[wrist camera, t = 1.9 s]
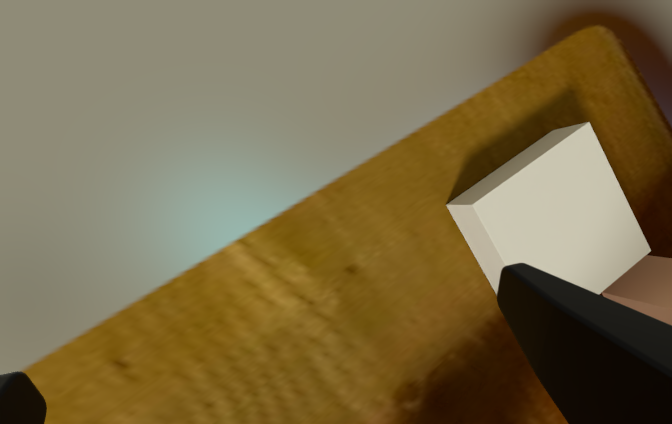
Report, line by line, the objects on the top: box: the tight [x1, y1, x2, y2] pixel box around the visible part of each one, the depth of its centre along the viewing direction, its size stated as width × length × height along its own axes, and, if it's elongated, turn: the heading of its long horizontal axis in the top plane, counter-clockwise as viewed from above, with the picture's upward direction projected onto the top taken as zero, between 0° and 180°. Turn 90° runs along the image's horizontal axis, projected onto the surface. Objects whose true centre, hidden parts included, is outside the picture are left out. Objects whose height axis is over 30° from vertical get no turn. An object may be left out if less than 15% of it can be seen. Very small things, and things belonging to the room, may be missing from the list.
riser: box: [446, 122, 651, 295], centre depth 27 cm, size 10×10×3 cm
